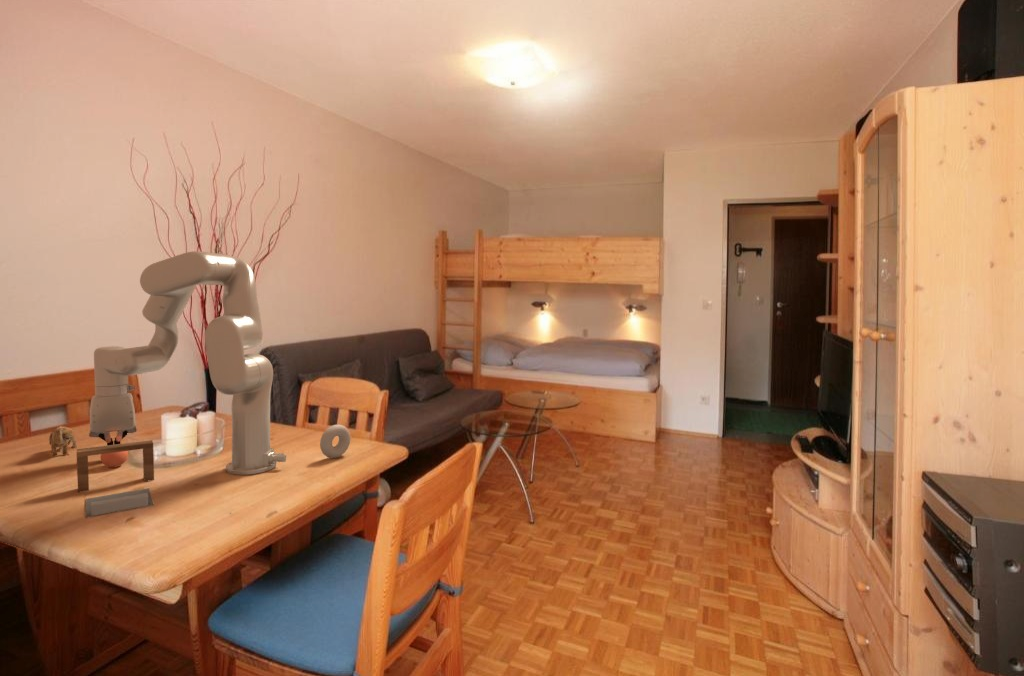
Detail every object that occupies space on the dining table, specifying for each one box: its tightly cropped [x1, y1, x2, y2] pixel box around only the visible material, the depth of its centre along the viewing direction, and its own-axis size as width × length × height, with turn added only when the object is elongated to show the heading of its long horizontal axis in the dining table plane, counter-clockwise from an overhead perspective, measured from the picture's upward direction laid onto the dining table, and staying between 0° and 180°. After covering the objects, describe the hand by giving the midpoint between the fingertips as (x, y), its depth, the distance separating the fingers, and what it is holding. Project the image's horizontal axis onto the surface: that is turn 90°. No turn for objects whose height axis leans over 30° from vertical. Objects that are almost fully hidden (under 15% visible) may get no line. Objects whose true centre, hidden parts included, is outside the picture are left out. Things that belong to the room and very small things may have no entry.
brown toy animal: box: [48, 425, 77, 458], centre depth 153 cm, size 15×5×9 cm, turn 35°
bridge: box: [76, 439, 155, 493], centre depth 131 cm, size 3×15×10 cm, turn 128°
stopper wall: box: [91, 493, 149, 517], centre depth 116 cm, size 2×10×2 cm, turn 129°
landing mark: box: [85, 488, 154, 519], centre depth 120 cm, size 12×12×1 cm
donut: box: [319, 424, 351, 459], centre depth 157 cm, size 10×4×10 cm, turn 146°
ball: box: [100, 451, 129, 468], centre depth 143 cm, size 6×6×6 cm
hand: (114, 454), depth 149 cm, fingers closed
